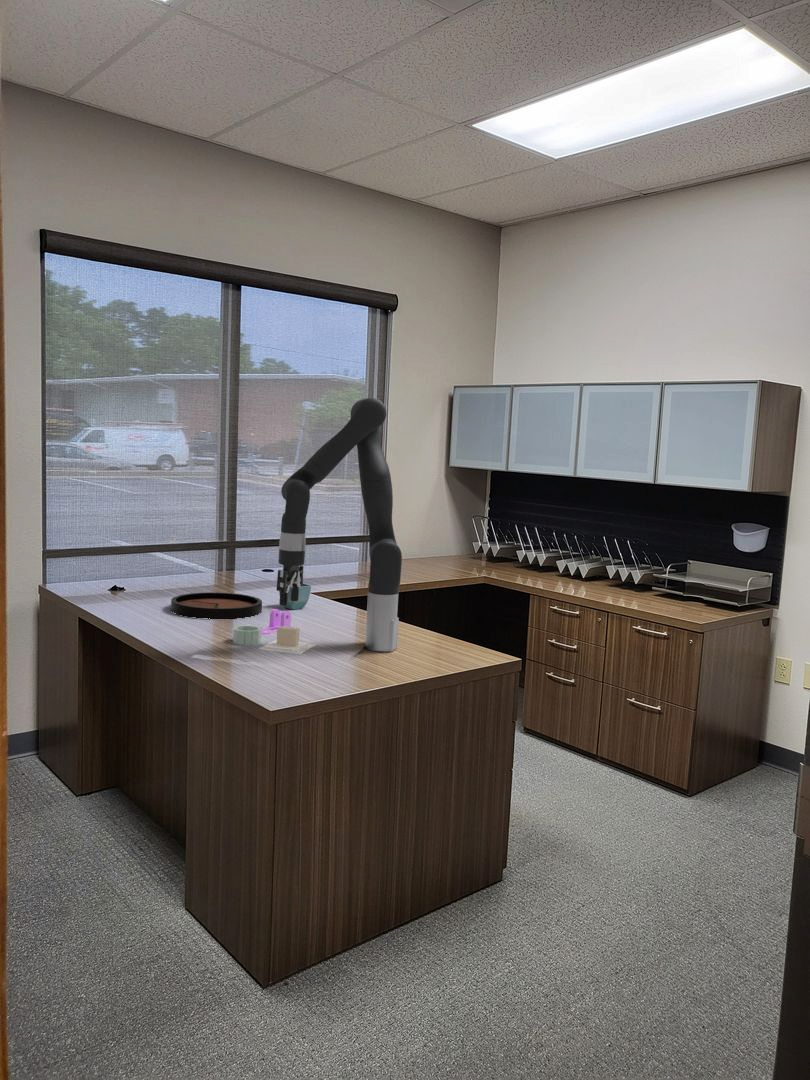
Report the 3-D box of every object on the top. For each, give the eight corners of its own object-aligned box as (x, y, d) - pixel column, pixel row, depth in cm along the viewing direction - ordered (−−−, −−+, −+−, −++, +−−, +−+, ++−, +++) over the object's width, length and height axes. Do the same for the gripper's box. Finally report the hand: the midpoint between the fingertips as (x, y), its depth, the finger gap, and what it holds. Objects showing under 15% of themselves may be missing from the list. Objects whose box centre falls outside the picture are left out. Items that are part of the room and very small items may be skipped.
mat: (316, 647, 254) (316, 644, 254) (300, 657, 241) (300, 653, 241) (275, 642, 257) (275, 639, 257) (257, 652, 244) (257, 648, 244)
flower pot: (310, 609, 312) (312, 585, 311) (292, 611, 306) (293, 587, 305) (295, 605, 318) (296, 581, 317) (277, 607, 312) (278, 583, 311)
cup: (264, 643, 255) (265, 627, 254) (253, 649, 247) (254, 632, 247) (240, 640, 257) (240, 624, 256) (228, 646, 249) (228, 629, 249)
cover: (309, 644, 252) (310, 626, 252) (297, 652, 243) (298, 633, 242) (278, 641, 255) (279, 622, 254) (264, 648, 245) (265, 629, 245)
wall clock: (280, 603, 301) (204, 612, 278) (279, 614, 301) (204, 624, 278) (227, 589, 322) (153, 596, 299) (227, 600, 322) (153, 608, 299)
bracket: (276, 629, 276) (277, 608, 276) (290, 631, 274) (291, 610, 273) (251, 635, 265) (252, 613, 264) (265, 638, 262) (266, 616, 262)
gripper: (295, 551, 238) (291, 608, 240) (313, 547, 252) (309, 600, 253) (270, 549, 240) (267, 605, 242) (289, 544, 254) (286, 598, 255)
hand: (289, 603), depth 248 cm, fingers open, 8 cm apart
